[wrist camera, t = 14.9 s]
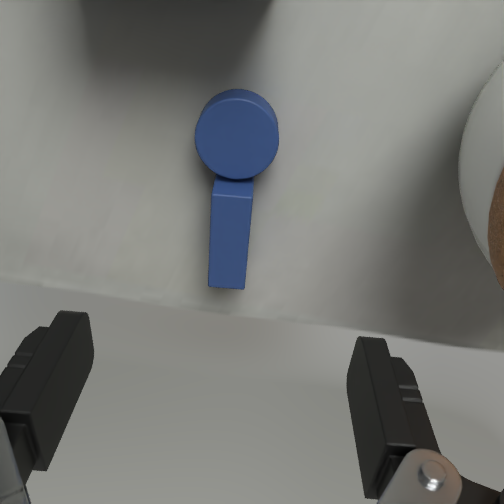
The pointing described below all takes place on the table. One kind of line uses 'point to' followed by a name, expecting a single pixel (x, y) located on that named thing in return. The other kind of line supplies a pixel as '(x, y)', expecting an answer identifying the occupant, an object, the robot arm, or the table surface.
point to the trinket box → (485, 171)
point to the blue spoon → (234, 175)
